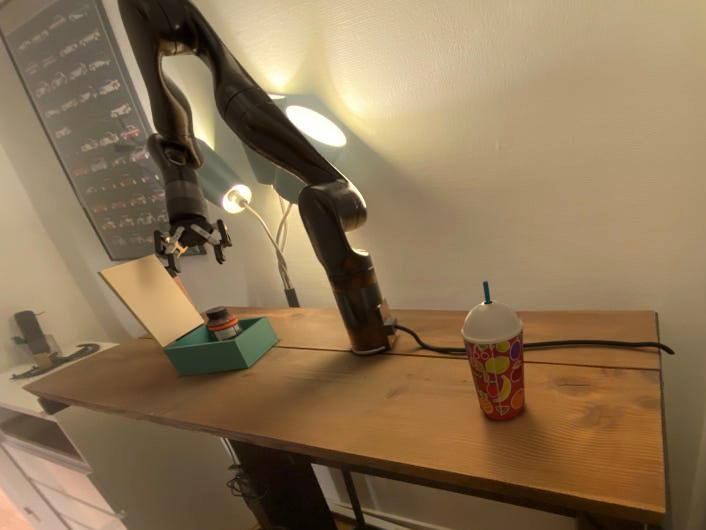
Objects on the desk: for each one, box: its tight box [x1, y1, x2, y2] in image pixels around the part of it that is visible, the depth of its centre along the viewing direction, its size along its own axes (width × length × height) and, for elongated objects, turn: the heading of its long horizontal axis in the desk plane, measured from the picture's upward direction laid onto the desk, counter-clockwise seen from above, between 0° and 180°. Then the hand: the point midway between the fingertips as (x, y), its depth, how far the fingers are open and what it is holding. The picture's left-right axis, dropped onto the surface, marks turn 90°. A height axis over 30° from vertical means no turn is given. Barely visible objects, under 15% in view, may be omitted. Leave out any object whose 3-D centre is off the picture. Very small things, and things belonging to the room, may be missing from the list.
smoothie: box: [460, 280, 526, 421], centre depth 52 cm, size 8×8×20 cm
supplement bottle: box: [204, 305, 243, 342], centre depth 86 cm, size 6×6×11 cm
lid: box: [96, 253, 205, 349], centre depth 83 cm, size 18×14×5 cm
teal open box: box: [163, 315, 279, 377], centre depth 88 cm, size 17×14×7 cm
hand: (198, 266), depth 82 cm, fingers open, 8 cm apart
